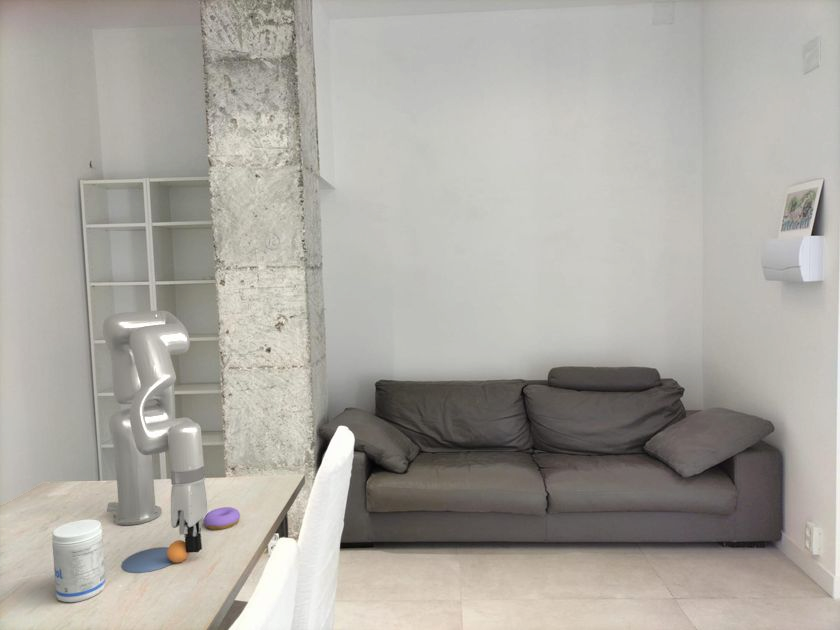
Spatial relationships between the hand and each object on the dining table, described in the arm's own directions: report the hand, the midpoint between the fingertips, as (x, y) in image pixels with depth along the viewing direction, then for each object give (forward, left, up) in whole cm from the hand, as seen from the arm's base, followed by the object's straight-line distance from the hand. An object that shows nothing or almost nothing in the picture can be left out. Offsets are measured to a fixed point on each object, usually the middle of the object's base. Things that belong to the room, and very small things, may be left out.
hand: (194, 550), depth 149 cm
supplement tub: (-19, -15, -3) cm, 24 cm away
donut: (-2, +22, -3) cm, 23 cm away
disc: (-11, +1, -3) cm, 12 cm away
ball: (-4, 0, 0) cm, 4 cm away
